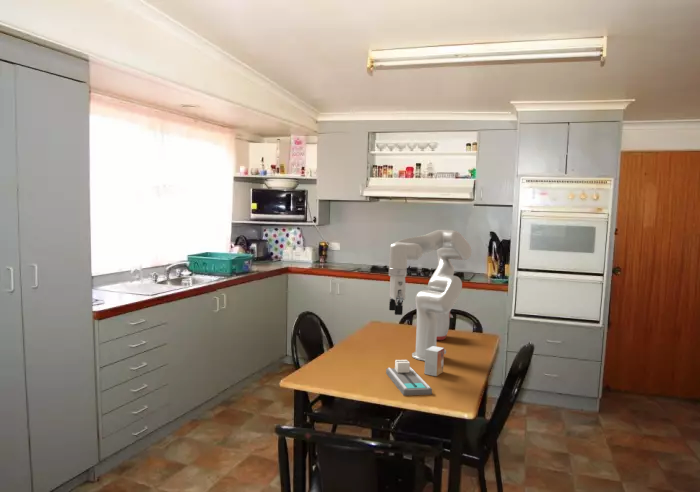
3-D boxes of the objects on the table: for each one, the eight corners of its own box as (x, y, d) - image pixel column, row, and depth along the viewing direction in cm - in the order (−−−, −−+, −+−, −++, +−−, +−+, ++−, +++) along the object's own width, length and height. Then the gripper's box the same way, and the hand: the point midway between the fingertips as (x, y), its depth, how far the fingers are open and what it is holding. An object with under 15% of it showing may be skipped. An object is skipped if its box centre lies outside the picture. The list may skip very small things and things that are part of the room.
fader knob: (406, 369, 203) (406, 359, 203) (409, 372, 199) (409, 362, 199) (394, 369, 202) (395, 359, 202) (397, 372, 198) (397, 362, 198)
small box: (436, 376, 202) (437, 351, 201) (423, 374, 205) (425, 349, 204) (443, 371, 209) (444, 347, 208) (431, 369, 212) (432, 345, 211)
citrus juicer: (454, 342, 258) (456, 305, 256) (422, 341, 258) (423, 303, 257) (449, 335, 273) (450, 299, 272) (418, 334, 274) (419, 298, 272)
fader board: (411, 372, 206) (411, 366, 206) (431, 394, 182) (432, 387, 182) (386, 373, 204) (386, 367, 204) (403, 395, 180) (403, 388, 180)
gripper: (411, 275, 199) (409, 316, 200) (401, 270, 216) (399, 308, 217) (393, 274, 198) (391, 316, 199) (384, 270, 215) (382, 308, 216)
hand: (395, 312), depth 208 cm, fingers open, 9 cm apart
